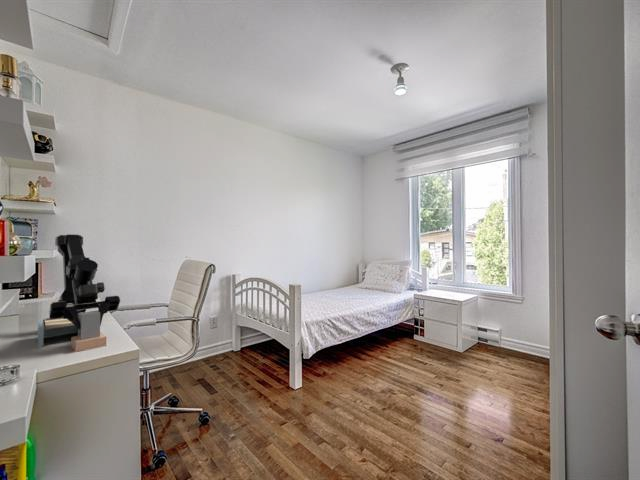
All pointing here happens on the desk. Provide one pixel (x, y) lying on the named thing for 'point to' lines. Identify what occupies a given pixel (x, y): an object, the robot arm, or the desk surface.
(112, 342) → the desk surface
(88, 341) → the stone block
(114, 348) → the desk surface
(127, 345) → the desk surface
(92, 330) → the grey upright block
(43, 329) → the trapdoor frame
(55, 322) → the trapdoor
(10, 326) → the desk surface
